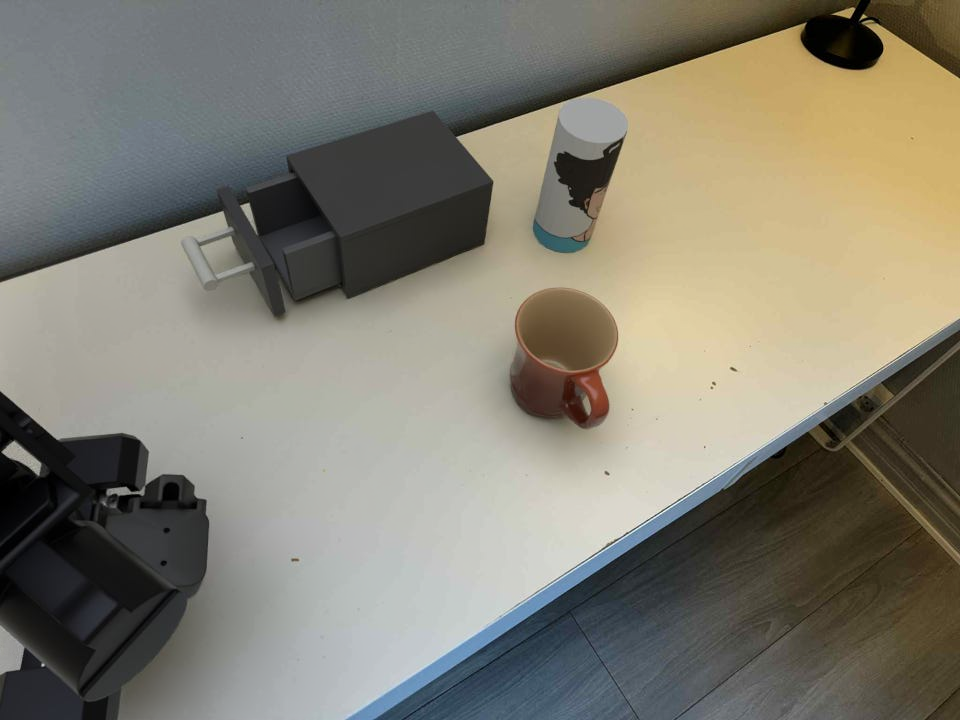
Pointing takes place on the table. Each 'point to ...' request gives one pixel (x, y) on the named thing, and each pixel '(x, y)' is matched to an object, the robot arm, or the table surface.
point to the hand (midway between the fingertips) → (123, 606)
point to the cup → (578, 172)
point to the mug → (563, 355)
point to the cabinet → (396, 198)
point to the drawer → (274, 242)
